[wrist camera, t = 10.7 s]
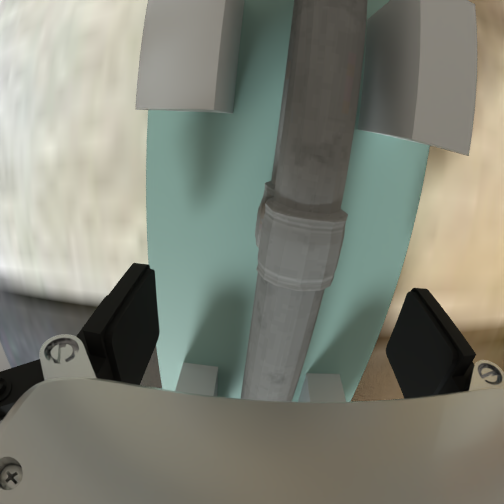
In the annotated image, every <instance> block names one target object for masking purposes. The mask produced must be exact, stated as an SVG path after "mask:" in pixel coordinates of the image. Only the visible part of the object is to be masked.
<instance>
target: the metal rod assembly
mask: <svg viewBox="0 0 504 504" xmlns="http://www.w3.org/2000/svg"><path fill="white" fill-rule="evenodd" d="M367 2H368V0H294V6H293V15H292V23H291V31H290V39H289V47H288V55H287V63H286V71H285V79H284V87H283V95H282V103H281V110H280V118H279V126H278V133H277V141H276V148H275V156H274V163H273V171H272V178H271V181H269V182H266V183H265V190H264V194H263V198H262V200H261V203H260V206H259V208H258V213H257V221H256V229H255V238H256V245H257V247H258V248H259V250H258V265H257V269H256V270H257V271H258V274H257V281H256V289H255V296H254V304H253V311H252V318H251V326H250V333H249V341H248V348H247V355H246V362H245V370H244V377H243V384H242V391H241V398H240V399H251V400H267V401H288V402H292V399H293V396H294V393H295V390H296V386H297V383H298V380H299V377H300V374H301V371H302V367H303V364H304V361H305V358H306V354H307V351H308V348H309V344H310V341H311V337H312V334H313V330H314V327H315V323H316V320H317V316H318V312H319V309H320V305H321V301H322V298H323V294H324V290H325V288H327V287H329V286H331V283H332V281H333V279H334V273H335V270H336V268H337V265H338V260H339V256H340V252H341V248H342V244H343V239H344V233H345V224H346V220H347V217H348V214H347V213H346V212H344V211H343V210H342V209H341V205H342V199H343V194H344V189H345V183H346V177H347V172H348V166H349V160H350V153H351V147H352V140H353V134H354V127H355V120H356V113H357V106H358V99H359V91H360V83H361V74H362V65H363V55H364V44H365V32H366V18H367Z"/></svg>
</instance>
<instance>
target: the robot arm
mask: <svg viewBox="0 0 504 504" xmlns="http://www.w3.org/2000/svg"><path fill="white" fill-rule="evenodd" d="M159 332H160V329H159V318H158V307H157V295H156V280H155V271H154V269H150V266H149V265H147V264H138V263H133V264H132V265H131V267H130V268H129V269H128V270H127V272H126V273H125V274H124V276H123V277H122V278H121V279H120V281H119V282H118V283H117V285H116V286H115V287H114V288H113V290H112V291H111V292H110V294H109V295H107V296H106V297H105V298H104V299H103V301H102V302H101V303H100V305H99V306H98V307H97V309H96V310H95V311H94V313H93V314H92V316H91V317H90V318H89V320H88V321H87V322H86V324H85V325H84V327H83V328H82V329H81V331H80V332H79V334H78V335H77V336H73V335H66V334H63V335H57V336H55V337H52V338H50V339H49V340H47V341H46V342H45V343H44V344H43V345H42V347H41V349H40V359H39V360H36V361H33V362H29V363H26V364H23V365H20V366H17V367H14V368H11V369H8V370H5V371H1V372H0V504H504V373H503V371H502V370H501V369H500V368H499V367H498V366H497V365H496V364H494V363H492V362H490V361H487V360H481V361H478V362H476V363H475V365H474V364H473V362H472V361H473V359H474V358H475V356H476V354H475V352H474V351H473V349H472V348H471V346H470V345H469V344H468V342H467V341H466V339H465V338H464V336H463V335H462V334H461V332H460V331H459V330H458V328H457V327H456V325H455V324H454V323H453V321H452V320H451V319H450V317H449V316H448V315H447V313H446V312H445V311H444V310H443V308H442V307H441V306H440V304H439V303H438V302H437V301H436V299H435V298H434V297H433V295H432V294H431V293H430V292H429V290H427V289H421V288H413V289H412V290H411V292H408V293H407V295H406V298H405V301H404V304H403V306H402V309H401V312H400V314H399V317H398V320H397V322H396V325H395V327H394V330H393V332H392V335H391V337H390V340H389V342H388V344H387V348H386V354H387V357H388V359H389V362H390V364H391V366H392V369H393V371H394V374H395V376H396V378H397V381H398V383H399V386H400V388H401V391H402V393H403V396H404V398H405V399H393V400H378V401H357V402H288V401H267V400H251V399H239V398H228V397H218V396H209V395H201V394H193V393H186V392H179V391H173V390H166V389H160V388H155V387H148V386H142V385H140V383H141V380H142V378H143V375H144V373H145V370H146V368H147V365H148V363H149V360H150V358H151V355H152V353H153V351H154V348H155V346H156V343H157V341H158V338H159Z"/></svg>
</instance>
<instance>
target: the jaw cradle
mask: <svg viewBox="0 0 504 504" xmlns="http://www.w3.org/2000/svg"><path fill="white" fill-rule="evenodd" d="M293 6H294V0H148V4H147V9H146V16H145V22H144V29H143V36H142V44H141V52H140V61H139V71H138V82H137V95H136V109H137V110H148V128H147V159H146V210H147V241H148V260H149V266H150V269H154V271H155V280H156V295H157V307H158V318H159V329H160V332H159V338H158V341H157V343H156V347H157V354H158V362H159V369H160V376H161V382H162V388H163V389H166V390H173V391H179V392H186V393H193V394H201V395H209V396H218V397H228V398H239V399H240V398H241V391H242V384H243V377H244V370H245V362H246V355H247V348H248V341H249V333H250V326H251V318H252V311H253V304H254V296H255V289H256V281H257V274H258V271H257V270H256V269H257V265H258V250H259V248H258V247H257V245H256V238H255V229H256V221H257V213H258V208H259V206H260V203H261V200H262V198H263V194H264V190H265V183H266V182H269V181H271V178H272V171H273V163H274V156H275V148H276V141H277V133H278V126H279V118H280V110H281V103H282V95H283V87H284V79H285V71H286V63H287V55H288V47H289V39H290V31H291V23H292V15H293ZM476 84H477V25H476V10H475V4H473V3H472V2H470V1H468V0H368V2H367V18H366V32H365V44H364V55H363V65H362V74H361V83H360V91H359V99H358V106H357V113H356V120H355V127H354V134H353V140H352V147H351V153H350V160H349V166H348V172H347V177H346V183H345V189H344V194H343V199H342V205H341V209H342V210H343V211H344V212H346V213H347V214H348V217H347V220H346V224H345V233H344V239H343V244H342V248H341V252H340V256H339V260H338V265H337V268H336V270H335V273H334V279H333V281H332V283H331V286H329V287H327V288H325V290H324V294H323V298H322V301H321V305H320V309H319V312H318V316H317V320H316V323H315V327H314V330H313V334H312V337H311V341H310V344H309V348H308V351H307V354H306V358H305V361H304V364H303V367H302V371H301V374H300V377H299V380H298V383H297V386H296V390H295V393H294V396H293V399H292V402H350V401H351V399H352V397H353V394H354V392H355V390H356V388H357V386H358V384H359V381H360V379H361V377H362V375H363V372H364V370H365V368H366V365H367V363H368V361H369V358H370V356H371V354H372V351H373V349H374V346H375V344H376V341H377V339H378V336H379V333H380V331H381V328H382V325H383V323H384V320H385V317H386V315H387V312H388V309H389V306H390V303H391V300H392V297H393V294H394V291H395V288H396V285H397V282H398V279H399V276H400V273H401V269H402V266H403V263H404V259H405V256H406V252H407V249H408V245H409V241H410V237H411V234H412V230H413V226H414V222H415V218H416V213H417V209H418V205H419V200H420V196H421V191H422V186H423V181H424V176H425V170H426V165H427V159H428V153H429V147H430V146H434V147H438V148H441V149H445V150H449V151H453V152H456V153H460V154H463V155H467V156H469V150H470V144H471V137H472V129H473V121H474V111H475V99H476Z"/></svg>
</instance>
